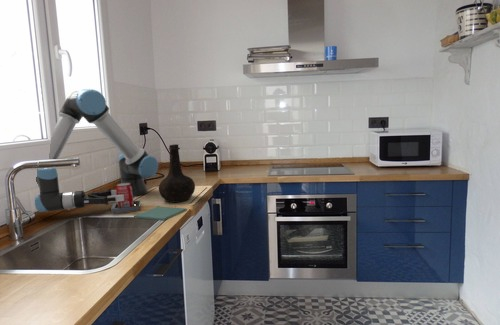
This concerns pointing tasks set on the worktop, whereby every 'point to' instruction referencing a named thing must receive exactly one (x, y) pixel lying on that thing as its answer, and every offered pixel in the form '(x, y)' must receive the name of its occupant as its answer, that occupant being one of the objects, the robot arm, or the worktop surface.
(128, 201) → the soda can
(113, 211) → the gray square tray
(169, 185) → the glass bottle
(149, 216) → the mat
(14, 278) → the worktop surface
